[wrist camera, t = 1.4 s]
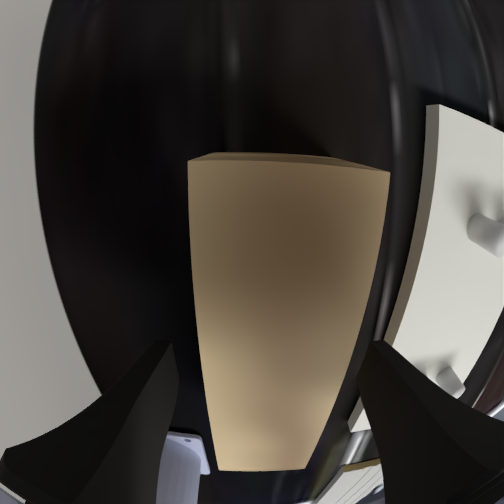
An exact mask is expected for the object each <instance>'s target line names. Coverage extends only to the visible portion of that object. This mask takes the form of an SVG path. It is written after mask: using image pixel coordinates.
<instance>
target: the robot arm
mask: <svg viewBox="0 0 504 504" xmlns="http://www.w3.org/2000/svg"><path fill="white" fill-rule="evenodd" d="M357 383H358V388H359V393H360V397H361V401H362V404H363V407H364V410H365V413H366V416H367V419H368V421H369V424H370V427H371V430H372V433H373V436H374V439H375V442H376V445H377V448H378V452H379V457H380V462H381V468H382V474H383V482H384V491H385V504H504V422H503V421H501V420H498V419H495V418H493V417H490V416H488V415H486V414H483V413H481V412H479V411H477V410H475V409H473V408H471V407H470V406H468V405H466V404H464V403H463V402H461V401H460V400H458V399H456V398H455V397H453V396H452V395H450V394H449V393H447V392H446V391H445V390H443V389H442V388H441V387H439V386H438V385H437V384H435V383H434V382H433V381H431V380H430V379H429V378H428V377H427V376H425V375H424V374H423V373H422V372H421V371H419V370H418V369H417V368H416V367H415V366H414V365H412V364H411V363H410V362H409V361H408V360H407V359H406V358H405V357H403V356H402V355H401V354H400V353H399V352H398V351H397V350H395V349H394V348H393V347H392V346H391V345H390V344H388V343H387V342H386V341H385V340H381V341H371V342H370V344H369V347H368V349H367V352H366V355H365V358H364V360H363V363H362V366H361V368H360V371H359V373H358V376H357ZM178 386H179V375H178V370H177V366H176V361H175V356H174V351H173V346H172V342H169V341H159V340H155V341H154V342H153V343H152V344H151V345H150V346H149V348H148V349H147V350H146V351H145V352H144V353H143V354H142V355H141V356H140V358H139V359H138V360H137V361H136V362H135V363H134V364H133V365H132V366H131V367H130V368H129V369H128V370H127V371H126V372H125V373H124V375H123V376H122V377H121V378H120V379H119V380H118V381H117V382H116V383H115V384H113V385H112V386H111V387H110V388H109V389H108V390H107V391H106V392H105V393H104V394H103V395H102V396H100V397H99V398H98V399H97V400H96V401H95V402H93V403H92V404H91V405H90V406H89V407H87V408H86V409H84V410H83V411H82V412H80V413H79V414H77V415H76V416H74V417H73V418H71V419H70V420H68V421H67V422H65V423H64V424H62V425H60V426H59V427H57V428H55V429H53V430H51V431H49V432H47V433H45V434H43V435H41V436H39V437H37V438H35V439H32V440H30V441H27V442H25V443H22V444H19V445H16V446H13V447H10V448H7V449H6V450H5V452H4V454H3V456H2V458H1V460H0V483H2V484H3V485H4V486H6V487H7V488H8V489H10V490H11V491H13V492H14V493H16V494H17V495H19V496H20V497H22V498H23V499H25V500H26V502H25V504H197V497H198V487H199V478H200V474H210V468H209V464H208V461H207V457H206V453H205V449H204V446H203V442H202V438H201V437H200V436H199V435H195V434H186V433H178V432H171V431H168V429H169V426H170V422H171V419H172V415H173V412H174V408H175V404H176V399H177V393H178ZM0 504H24V503H22V502H20V501H19V500H17V499H16V498H14V497H13V496H11V495H10V494H9V493H7V492H6V491H4V490H3V489H1V488H0Z"/></svg>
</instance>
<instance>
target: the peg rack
mask: <svg viewBox="0 0 504 504" xmlns="http://www.w3.org/2000/svg"><path fill="white" fill-rule="evenodd" d="M503 306H504V133H503V132H501V131H499V130H497V129H495V128H493V127H491V126H489V125H487V124H485V123H483V122H481V121H479V120H477V119H474V118H472V117H470V116H468V115H465V114H463V113H460V112H458V111H456V110H453V109H451V108H448V107H445V106H443V105H440V104H437V105H426V134H425V151H424V163H423V173H422V181H421V189H420V196H419V203H418V210H417V216H416V221H415V227H414V232H413V237H412V242H411V246H410V251H409V255H408V259H407V264H406V268H405V272H404V275H403V279H402V283H401V287H400V290H399V294H398V297H397V300H396V304H395V307H394V310H393V313H392V316H391V319H390V322H389V325H388V328H387V331H386V334H385V337H384V340H385V341H386V342H387V343H388V344H390V345H391V346H392V347H393V348H394V349H395V350H397V351H398V352H399V353H400V354H401V355H402V356H403V357H405V358H406V359H407V360H408V361H409V362H410V363H411V364H412V365H414V366H415V367H416V368H417V369H418V370H419V371H421V372H422V373H423V374H424V375H425V376H427V377H428V378H429V379H430V380H431V381H433V382H434V383H435V384H437V385H438V386H439V387H441V388H442V389H443V390H445V391H446V392H447V393H449V394H450V395H452V396H453V397H455V398H456V399H457V398H459V397H460V396H461V395H462V394H463V392H464V391H465V387H464V385H463V382H464V381H465V379H466V378H467V376H468V374H469V373H470V371H471V369H472V368H473V366H474V364H475V363H476V361H477V359H478V357H479V356H480V354H481V352H482V350H483V348H484V346H485V345H486V343H487V341H488V339H489V337H490V335H491V333H492V331H493V329H494V326H495V324H496V322H497V320H498V318H499V315H500V313H501V311H502V309H503ZM348 425H349V429H350V432H355V431H361V430H366V429H371V427H370V424H369V421H368V419H367V416H366V413H365V410H364V407H363V404H362V401H361V397H359V400H358V402H357V404H356V406H355V408H354V410H353V412H352V414H351V416H350V418H349V420H348Z"/></svg>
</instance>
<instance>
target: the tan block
mask: <svg viewBox="0 0 504 504" xmlns="http://www.w3.org/2000/svg"><path fill="white" fill-rule="evenodd" d="M389 180H390V172H387V171H383V170H379V169H376V168H372V167H368V166H365V165H361V164H357V163H353V162H349V161H345V160H340V159H336V158H332V157H321V156H309V155H296V154H278V153H251V152H214V153H211V154H208V155H205V156H201V157H198V158H195V159H192V160H189V161H188V200H189V226H190V245H191V262H192V276H193V289H194V300H195V311H196V321H197V331H198V340H199V349H200V357H201V365H202V373H203V380H204V387H205V394H206V401H207V407H208V413H209V419H210V425H211V431H212V437H213V442H214V448H215V453H216V458H217V463H218V468H219V470H228V471H276V470H293V469H304V468H305V467H306V465H307V463H308V461H309V459H310V457H311V455H312V453H313V451H314V449H315V446H316V444H317V442H318V440H319V438H320V436H321V433H322V431H323V429H324V427H325V424H326V422H327V420H328V417H329V415H330V413H331V410H332V408H333V405H334V403H335V400H336V398H337V395H338V392H339V390H340V387H341V384H342V382H343V379H344V376H345V373H346V370H347V367H348V365H349V362H350V359H351V356H352V353H353V349H354V346H355V343H356V340H357V337H358V333H359V330H360V326H361V323H362V319H363V316H364V312H365V308H366V305H367V301H368V297H369V293H370V289H371V284H372V280H373V276H374V271H375V267H376V262H377V257H378V252H379V247H380V241H381V236H382V230H383V224H384V218H385V211H386V204H387V197H388V189H389Z"/></svg>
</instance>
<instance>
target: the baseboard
mask: <svg viewBox="0 0 504 504" xmlns="http://www.w3.org/2000/svg"><path fill="white" fill-rule="evenodd" d="M382 481H383V474H382V468H381V462H380V458H379V459H375V460H371V461H366V462H362V463H357V464H352V465H347V466H342V467H341V469H340V470H339V471H338V473H337V474H336V475H335V477H334V478H333V479H332V480H331V482H330V483H329V484H328V485H327V487H326V488H325V489H324V490H323V491H322V493H321V494H320V495H319V496H318V497H317V498H316V500H315V501H314V502H313V503H312V504H355V503H356V502H358V501H359V500H360V499H361V498H363V497H364V496H365V495H366V494H368V493H369V492H370V491H371V490H372V489H374V488H375V487H376V486H377V485H378V484H379V483H380V482H382Z"/></svg>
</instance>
